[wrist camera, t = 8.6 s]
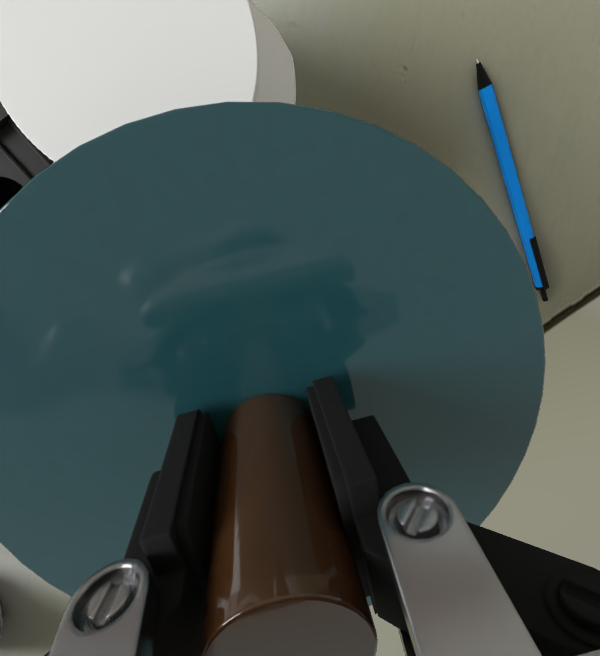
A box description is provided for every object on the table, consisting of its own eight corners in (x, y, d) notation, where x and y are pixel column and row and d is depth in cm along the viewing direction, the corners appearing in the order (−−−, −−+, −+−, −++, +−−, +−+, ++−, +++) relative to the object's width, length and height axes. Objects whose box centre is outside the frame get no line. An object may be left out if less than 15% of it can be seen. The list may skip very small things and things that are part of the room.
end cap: (47, 72, 24) (-27, 32, 18) (130, 174, 26) (91, 171, 20) (-68, 173, 25) (-176, 169, 19) (22, 261, 28) (-47, 284, 21)
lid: (106, 649, 14) (-2, 1005, 8) (-178, 197, 9) (-1312, 223, 2) (520, 533, 15) (714, 778, 9) (516, 45, 9) (1065, -246, 3)
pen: (536, 301, 33) (546, 305, 32) (467, 65, 26) (476, 60, 25) (546, 296, 33) (556, 299, 32) (479, 58, 26) (489, 53, 25)
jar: (72, 112, 25) (-162, 20, 11) (165, -19, 23) (31, -330, 9) (215, 237, 28) (180, 289, 14) (305, 131, 27) (364, 74, 13)
